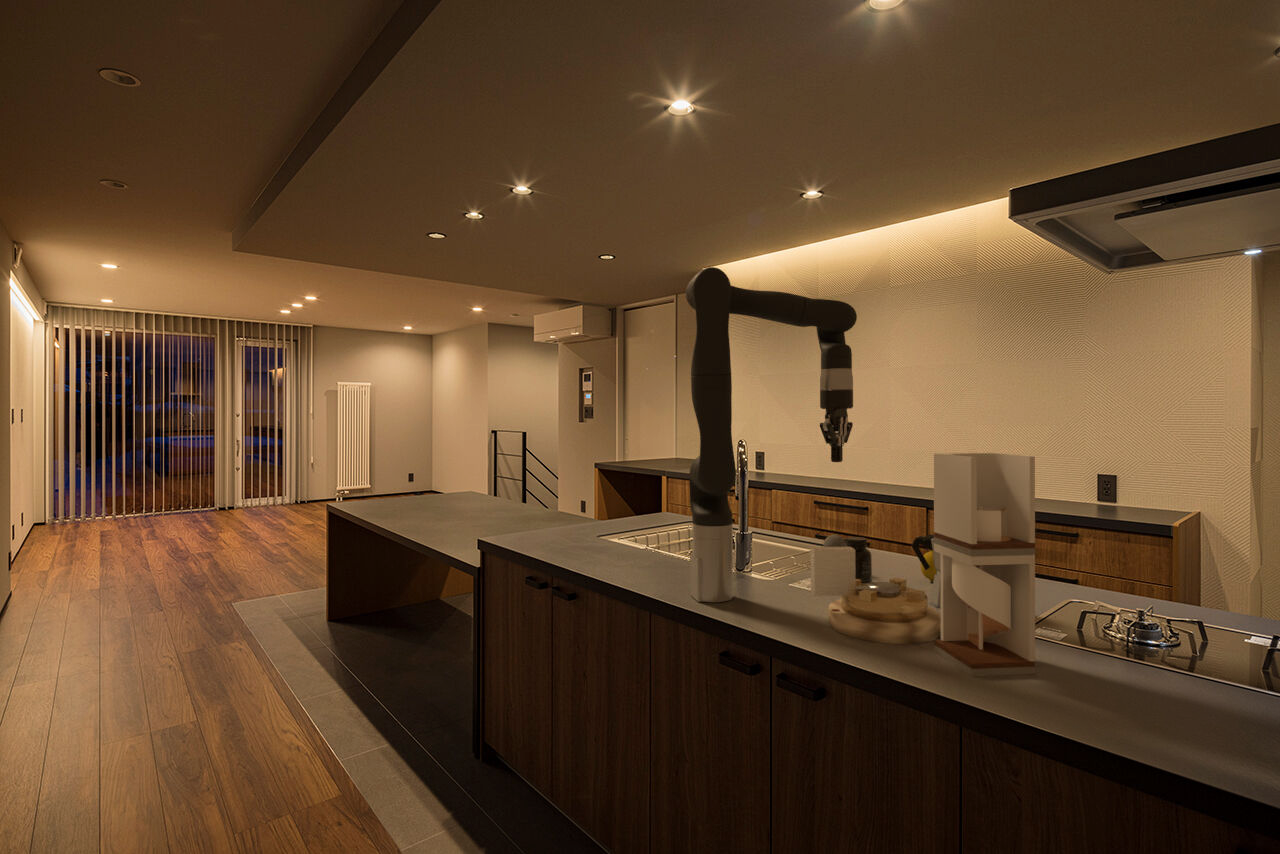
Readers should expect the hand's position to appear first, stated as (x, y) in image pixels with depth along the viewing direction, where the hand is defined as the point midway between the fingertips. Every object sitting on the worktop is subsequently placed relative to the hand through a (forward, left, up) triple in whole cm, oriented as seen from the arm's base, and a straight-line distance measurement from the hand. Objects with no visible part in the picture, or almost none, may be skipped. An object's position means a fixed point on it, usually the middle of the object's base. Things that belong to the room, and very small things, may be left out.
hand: (836, 461), depth 155 cm
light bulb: (+10, +19, -31) cm, 38 cm away
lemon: (+28, +3, -31) cm, 42 cm away
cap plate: (-4, -25, -31) cm, 40 cm away
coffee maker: (+18, -15, -31) cm, 39 cm away
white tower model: (+1, -46, -31) cm, 56 cm away
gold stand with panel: (-7, -24, -28) cm, 37 cm away
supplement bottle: (+7, +3, -31) cm, 32 cm away
